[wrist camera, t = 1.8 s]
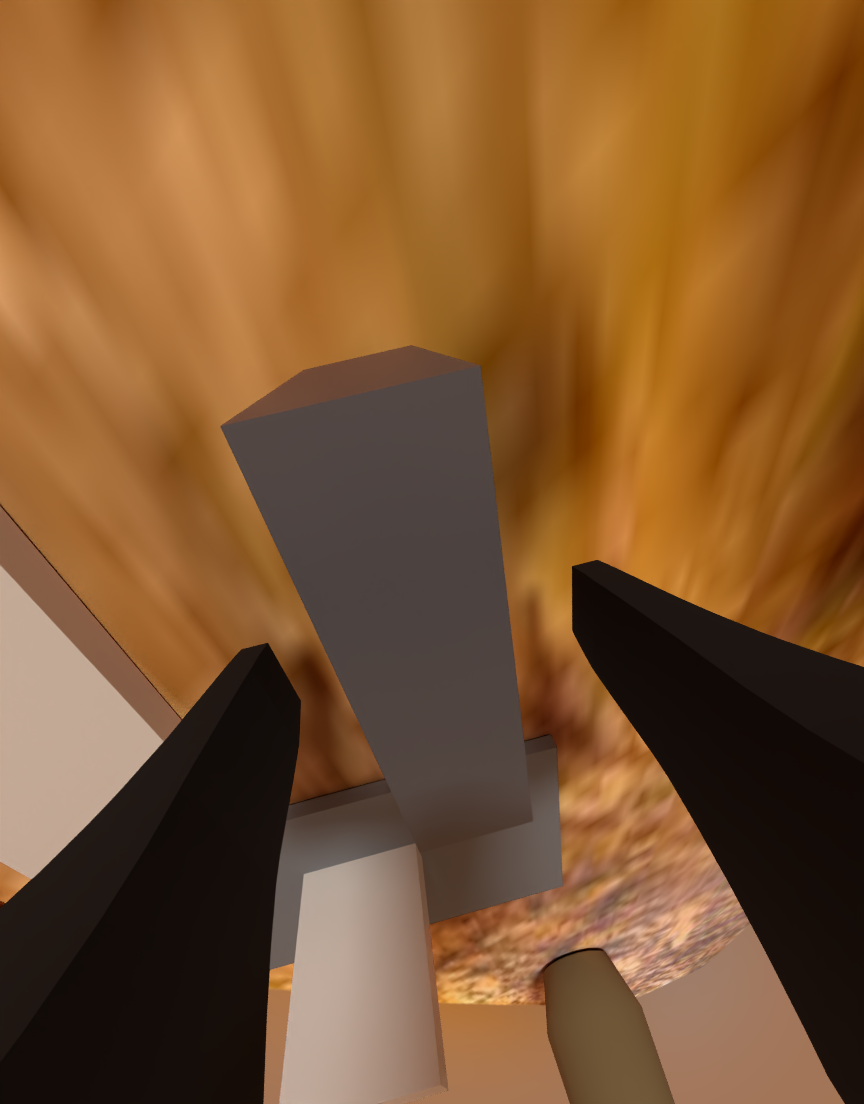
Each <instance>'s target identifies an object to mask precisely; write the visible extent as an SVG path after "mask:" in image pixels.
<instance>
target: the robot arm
mask: <svg viewBox="0 0 864 1104" xmlns="http://www.w3.org/2000/svg"><path fill="white" fill-rule="evenodd" d="M572 631H573V633H574V635H575V637H576V639H577V641H578V643H579V645H580V647H581V648H582V650H583V652H584V654H585V656H586V658H587V659H588V661H589V663H590V665H591V667H592V668H593V670H594V671H595V673H596V674H597V676H598V677H599V679H600V680H601V681H602V683H603V684H604V686H605V687H606V689H607V690H608V691H609V693H610V694H611V696H612V697H613V699H614V700H615V701H616V703H617V704H618V706H619V707H620V708H621V710H622V711H623V713H624V714H625V715H626V717H627V718H628V720H629V721H630V722H631V724H632V725H633V727H634V728H635V729H636V731H637V732H638V734H639V735H640V736H641V738H642V739H643V741H644V742H645V744H646V745H647V746H648V748H649V749H650V751H651V752H652V753H653V755H654V756H655V758H656V759H657V761H658V762H659V764H660V765H661V767H662V768H663V770H664V771H665V773H666V775H667V776H668V778H669V779H670V781H671V783H672V784H673V786H674V788H675V790H676V791H677V793H678V795H679V796H680V798H681V800H682V802H683V803H684V805H685V807H686V808H687V810H688V812H689V813H690V815H691V817H692V819H693V820H694V822H695V824H696V825H697V827H698V829H699V831H700V833H701V834H702V836H703V838H704V840H705V841H706V843H707V845H708V847H709V849H710V850H711V852H712V854H713V856H714V857H715V859H716V861H717V863H718V865H719V866H720V868H721V870H722V872H723V874H724V875H725V877H726V879H727V881H728V882H729V884H730V886H731V888H732V890H733V892H734V894H735V896H736V897H737V899H738V901H739V903H740V905H741V907H742V909H743V911H744V912H745V914H746V916H747V918H748V920H749V922H750V924H751V925H752V927H753V929H754V931H755V933H756V935H757V937H758V939H759V940H760V942H761V944H762V946H763V948H764V950H765V952H766V954H767V956H768V957H769V960H770V961H771V963H772V965H773V967H774V969H775V971H776V973H777V975H778V977H779V979H780V981H781V983H782V985H783V987H784V989H785V991H786V993H787V995H788V997H789V999H790V1001H791V1003H792V1005H793V1007H794V1009H795V1011H796V1013H797V1015H798V1017H799V1019H800V1020H801V1023H802V1025H803V1026H804V1028H805V1030H806V1032H807V1035H808V1037H809V1039H810V1041H811V1043H812V1045H813V1047H814V1049H815V1051H816V1053H817V1055H818V1057H819V1059H820V1061H821V1063H822V1065H823V1067H824V1069H825V1072H826V1074H827V1076H828V1077H829V1079H830V1081H831V1082H832V1084H833V1085H834V1087H835V1088H836V1090H837V1092H838V1093H839V1095H840V1097H841V1098H842V1100H843V1101H844V1103H845V1104H864V667H862V666H859V665H856V664H852V663H849V662H846V661H843V660H840V659H836V658H833V657H830V656H828V655H825V654H822V653H819V652H816V651H813V650H810V649H807V648H804V647H801V646H798V645H795V644H793V643H790V642H787V641H784V640H781V639H778V638H776V637H773V636H770V635H768V634H765V633H762V632H760V631H757V630H754V629H752V628H749V627H747V626H744V625H742V624H740V623H737V622H735V621H732V620H730V619H727V618H725V617H722V616H720V615H717V614H715V613H713V612H710V611H708V610H706V609H703V608H701V607H699V606H696V605H694V604H692V603H690V602H687V601H685V600H683V599H681V598H679V597H676V596H674V595H672V594H670V593H668V592H666V591H663V590H661V589H659V588H657V587H655V586H653V585H651V584H648V583H646V582H644V581H642V580H640V579H638V578H636V577H634V576H632V575H630V574H627V573H625V572H623V571H621V570H619V569H617V568H615V567H612V566H610V565H608V564H606V563H603V562H601V561H599V560H595V561H591V562H587V563H583V564H579V565H575V566H572ZM300 711H301V700H300V699H299V697H298V695H297V693H296V692H295V690H294V688H293V686H292V684H291V683H290V681H289V679H288V677H287V676H286V674H285V672H284V670H283V669H282V667H281V665H280V663H279V662H278V660H277V658H276V656H275V655H274V653H273V651H272V649H271V648H270V646H269V644H268V643H265V644H261V645H257V646H253V647H249V648H245V649H241V651H240V652H239V653H238V654H237V655H236V656H235V657H234V658H233V659H232V660H231V662H230V663H229V664H228V665H227V666H226V667H225V669H224V670H223V671H222V672H221V673H220V675H219V676H218V677H217V678H216V679H215V681H214V682H213V683H212V684H211V686H210V687H209V688H208V689H207V690H206V692H205V693H204V694H203V695H202V697H201V698H200V699H199V700H198V701H197V703H196V704H195V705H194V706H193V707H192V709H191V710H190V711H189V712H188V713H187V714H186V716H185V717H184V718H183V719H182V720H181V722H180V723H179V724H178V725H177V726H176V728H175V729H174V730H173V731H172V732H171V734H170V735H169V736H168V737H167V738H166V739H165V741H164V742H163V743H162V744H161V745H160V746H159V747H158V748H157V750H156V751H155V752H154V753H153V754H152V755H151V756H150V757H149V759H148V760H147V761H146V762H145V763H144V764H143V765H142V766H141V767H140V769H139V770H138V771H137V772H136V773H135V774H134V775H133V776H132V778H131V779H130V780H129V781H128V782H127V783H126V784H125V785H124V787H123V788H122V789H121V790H120V791H119V792H118V793H117V794H116V795H115V796H114V797H113V798H112V800H111V801H110V802H109V803H108V804H107V805H106V806H105V807H104V808H103V809H102V810H101V811H100V812H99V813H98V814H97V815H96V816H95V817H94V818H93V819H92V820H91V821H90V823H89V824H88V825H87V826H86V827H85V828H84V829H83V830H82V831H81V832H80V833H79V834H78V835H77V836H76V837H75V838H74V839H73V840H71V841H70V842H69V843H68V844H67V845H66V846H65V847H64V848H63V849H62V850H61V851H60V852H59V853H58V854H57V855H56V856H55V857H54V858H53V859H52V860H51V861H50V862H49V863H48V864H47V865H46V866H45V867H44V868H43V869H42V870H41V871H40V872H39V873H38V874H37V875H36V876H35V877H34V878H32V879H31V880H30V881H29V882H28V883H27V884H26V885H25V886H24V887H23V888H22V889H21V890H19V891H18V892H17V893H16V894H15V895H14V896H13V897H12V898H11V899H10V900H9V901H8V902H6V903H5V904H4V905H3V906H2V907H1V908H0V1104H263V1099H264V1074H265V1073H264V1072H265V1048H266V1023H267V1003H268V988H269V972H270V956H271V942H272V930H273V918H274V906H275V894H276V883H277V875H278V868H279V860H280V854H281V848H282V842H283V836H284V831H285V825H286V819H287V813H288V808H289V802H290V796H291V790H292V785H293V779H294V773H295V766H296V760H297V754H298V748H299V736H300Z"/></svg>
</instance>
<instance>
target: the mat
mask: <svg viewBox="0 0 864 1104" xmlns="http://www.w3.org/2000/svg"><path fill="white" fill-rule="evenodd" d="M524 746H525V754H526V763H527V772H528V780H529V789H530V797H531V806H532V815H533V822H529V823H526V824H522V825H518V826H515V827H511V828H508V829H504V830H500V831H497V832H493V833H490V834H486V835H483V836H479V837H475V838H472V839H468V840H465V841H461V842H457V843H454V844H450V845H447V846H443V847H440V848H436V849H432V850H429V851H425V852H422V853H420V854H421V856H422V863H423V871H424V880H425V889H426V898H427V907H428V915H429V924H432V923H435V922H439V921H442V920H446V919H449V918H453V917H456V916H460V915H463V914H467V913H470V912H474V911H477V910H481V909H484V908H488V907H491V906H495V905H498V904H502V903H505V902H509V901H512V900H516V899H519V898H523V897H526V896H530V895H533V894H537V893H540V892H544V891H547V890H551V889H554V888H558V887H561V886H563V882H562V858H561V835H560V812H559V789H558V765H557V747H556V745H555V742H554V740H553V738H552V736H551V735H548V736H544V737H540V738H536V739H533V740H529V741H525V742H524ZM414 843H415V841H414V839H413V837H412V835H411V833H410V831H409V829H408V826H407V824H406V822H405V820H404V818H403V816H402V814H401V811H400V809H399V807H398V805H397V803H396V801H395V799H394V797H393V794H392V792H391V790H390V788H389V786H388V784H387V782H386V779H385V780H381V781H377V782H374V783H370V784H366V785H363V786H359V787H355V788H352V789H348V790H344V791H340V792H337V793H333V794H329V795H326V796H322V797H318V798H315V799H311V800H307V801H304V802H300V803H296V804H292V805H289V808H288V813H287V819H286V825H285V831H284V836H283V842H282V848H281V854H280V860H279V868H278V875H277V883H276V894H275V906H274V918H273V930H272V942H271V956H270V970H271V969H274V968H278V967H281V966H285V965H288V964H292V963H294V961H295V952H296V943H297V933H298V924H299V915H300V905H301V896H302V887H303V877H304V874H306V873H310V872H313V871H317V870H321V869H324V868H328V867H331V866H335V865H339V864H342V863H346V862H349V861H353V860H357V859H360V858H364V857H367V856H371V855H375V854H378V853H382V852H385V851H389V850H393V849H396V848H400V847H403V846H407V845H411V844H414Z"/></svg>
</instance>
